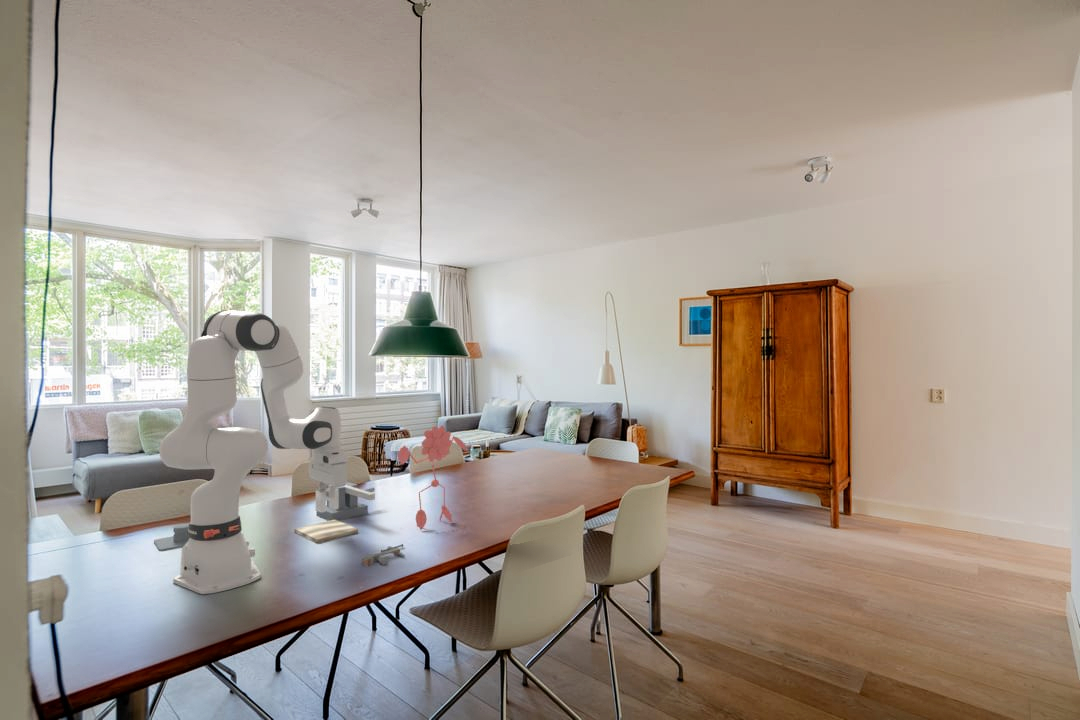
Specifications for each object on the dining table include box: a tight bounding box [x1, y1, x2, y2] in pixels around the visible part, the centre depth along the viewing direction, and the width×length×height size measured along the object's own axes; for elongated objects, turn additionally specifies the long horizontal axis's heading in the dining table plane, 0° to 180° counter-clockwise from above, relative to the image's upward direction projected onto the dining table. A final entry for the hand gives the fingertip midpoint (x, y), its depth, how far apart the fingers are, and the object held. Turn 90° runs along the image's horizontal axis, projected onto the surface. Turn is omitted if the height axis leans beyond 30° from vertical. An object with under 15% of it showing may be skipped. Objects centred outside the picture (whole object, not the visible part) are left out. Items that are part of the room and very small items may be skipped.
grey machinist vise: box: [316, 481, 376, 521], centre depth 194 cm, size 27×20×11 cm
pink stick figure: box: [397, 425, 469, 535], centre depth 181 cm, size 15×26×35 cm, turn 132°
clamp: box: [361, 543, 406, 567], centre depth 153 cm, size 15×2×10 cm
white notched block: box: [315, 488, 339, 513], centre depth 176 cm, size 4×6×6 cm, turn 138°
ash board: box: [294, 520, 359, 544], centre depth 175 cm, size 16×14×1 cm
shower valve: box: [153, 522, 190, 552], centre depth 168 cm, size 12×6×15 cm
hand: (327, 495), depth 176 cm, fingers closed on white notched block, 4 cm apart
